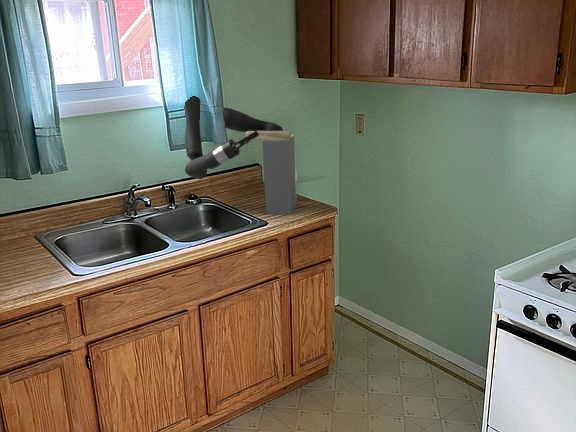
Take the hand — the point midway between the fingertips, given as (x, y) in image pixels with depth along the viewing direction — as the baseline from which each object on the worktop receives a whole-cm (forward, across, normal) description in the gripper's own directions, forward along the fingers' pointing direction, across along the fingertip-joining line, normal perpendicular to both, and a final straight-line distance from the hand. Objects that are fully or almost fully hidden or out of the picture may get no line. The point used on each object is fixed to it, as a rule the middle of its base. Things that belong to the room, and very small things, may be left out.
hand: (258, 132), depth 250 cm
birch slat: (+2, 0, +5) cm, 5 cm away
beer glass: (-9, +17, +35) cm, 40 cm away
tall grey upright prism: (-10, +2, +34) cm, 36 cm away
